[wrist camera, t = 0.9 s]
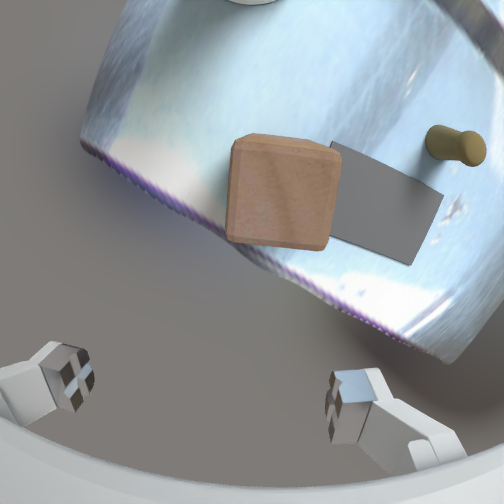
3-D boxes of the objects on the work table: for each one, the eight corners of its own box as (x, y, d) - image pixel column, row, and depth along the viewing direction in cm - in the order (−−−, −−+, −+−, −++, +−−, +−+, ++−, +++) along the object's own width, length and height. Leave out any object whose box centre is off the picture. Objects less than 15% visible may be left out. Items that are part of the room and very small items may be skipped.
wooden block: (313, 140, 43) (346, 151, 25) (304, 203, 47) (327, 256, 29) (246, 132, 43) (231, 137, 25) (240, 196, 47) (222, 245, 29)
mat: (332, 141, 43) (333, 141, 43) (442, 194, 45) (444, 195, 44) (300, 223, 48) (300, 224, 48) (410, 264, 50) (410, 265, 50)
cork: (451, 124, 40) (490, 128, 30) (454, 158, 42) (492, 170, 32) (423, 125, 41) (460, 128, 30) (427, 161, 43) (463, 172, 33)
